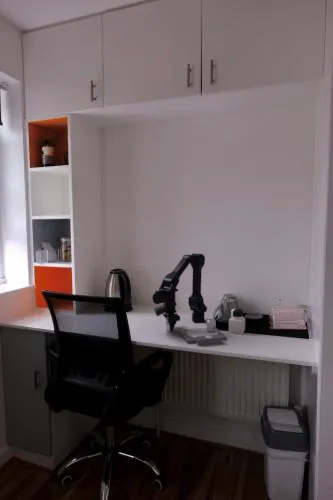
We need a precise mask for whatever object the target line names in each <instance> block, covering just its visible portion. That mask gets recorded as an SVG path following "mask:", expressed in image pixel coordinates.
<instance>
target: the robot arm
mask: <svg viewBox="0 0 333 500" xmlns="http://www.w3.org/2000/svg"><path fill="white" fill-rule="evenodd" d="M205 261H206V257H205V255H204V254H203V253H195V252H194V253H192V254H184V255H182V258H181V259H180V261H179V262H178V263H177V265H176V266H175V267H174V269H173V270H172V271H171V272H169V273H167V274H166V275H165V276H164V277H163V279H162V280H161V283H160V286H159V288H158V289H157V290H155V291H154V293H153V294H152V302H153V303H154V304H155V305H159V304H160V305H159V306H157V307H154V308H153V311H154V313H155V316H156V317H159V316H160V315H163V317H164V318H165V321H166V320H167V321H168V322H169V326H170V331H173V329H174V330H175V326H176V324H177V323H178V322H180V321H181V316H180V315H179V314H178V313H177V309H176V307H177V302H176V293H177V292H179V289H177V287H178V285H179V283H180V278H181V277H182V275H183V273H184V272H185V270H186V269H187V268H188V266H189V265H190V266H191V269H192V284H191V285H192V286H191V287H192V292H191V295H190V296H188V298H187V299H188V302H187V304H188V306H189V310H190V311H192V313H191V320H192V322H193V323H195V324H198V323H199V324H200V323H206V320H205V313H206V312H207V311H208V306H206V304H205V303H204V297H203V295H202V269H203V268H204V265H205V264H206V263H205ZM161 304H162V305H161Z"/></svg>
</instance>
